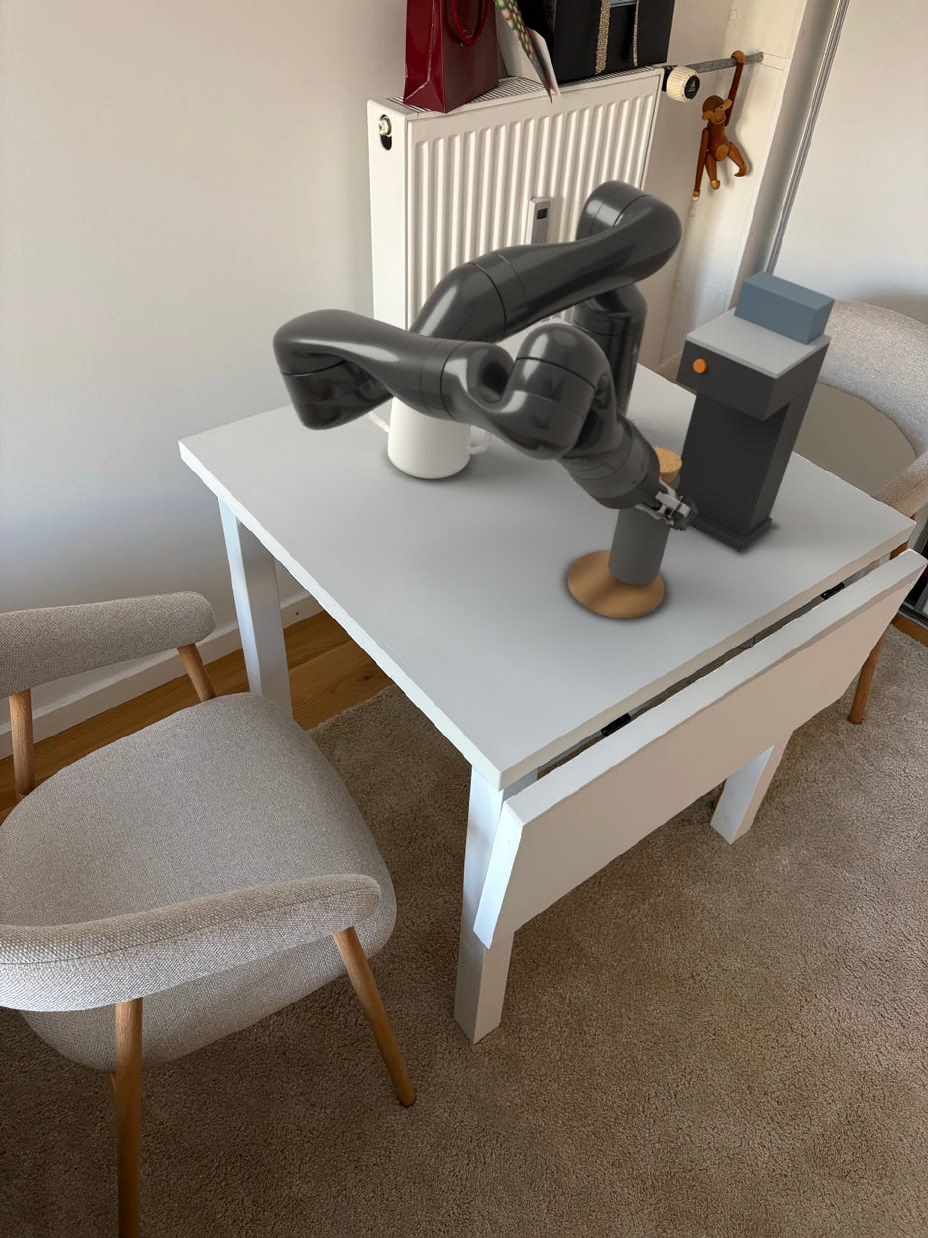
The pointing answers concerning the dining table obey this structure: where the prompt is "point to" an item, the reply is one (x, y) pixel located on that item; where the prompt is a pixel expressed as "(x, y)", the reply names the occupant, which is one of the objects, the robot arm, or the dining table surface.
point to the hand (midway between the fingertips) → (655, 508)
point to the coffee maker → (749, 403)
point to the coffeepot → (427, 442)
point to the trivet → (611, 589)
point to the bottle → (643, 533)
